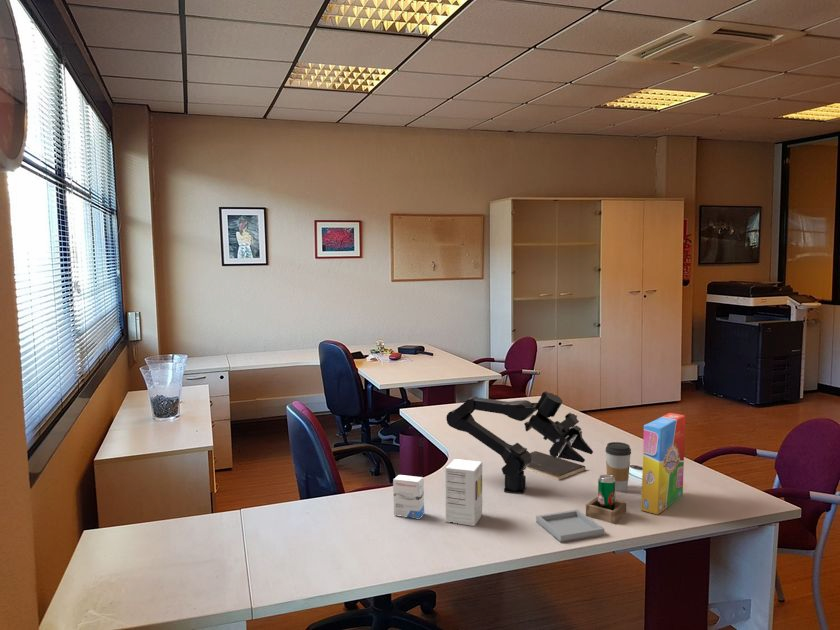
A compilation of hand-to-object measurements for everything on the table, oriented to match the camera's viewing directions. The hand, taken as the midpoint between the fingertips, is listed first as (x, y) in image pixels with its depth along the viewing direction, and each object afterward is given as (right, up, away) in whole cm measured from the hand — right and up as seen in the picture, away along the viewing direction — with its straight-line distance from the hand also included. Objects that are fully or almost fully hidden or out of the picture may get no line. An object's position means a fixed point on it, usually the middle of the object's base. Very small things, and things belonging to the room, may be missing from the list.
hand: (588, 457), depth 199 cm
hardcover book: (-6, -13, +36) cm, 39 cm away
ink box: (-57, -17, -5) cm, 59 cm away
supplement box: (-40, -17, -8) cm, 44 cm away
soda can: (+4, -16, -7) cm, 18 cm away
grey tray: (-10, -17, -16) cm, 25 cm away
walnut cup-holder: (+4, -16, -7) cm, 18 cm away
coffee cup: (+14, -14, +14) cm, 24 cm away
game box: (+24, -15, +2) cm, 29 cm away
